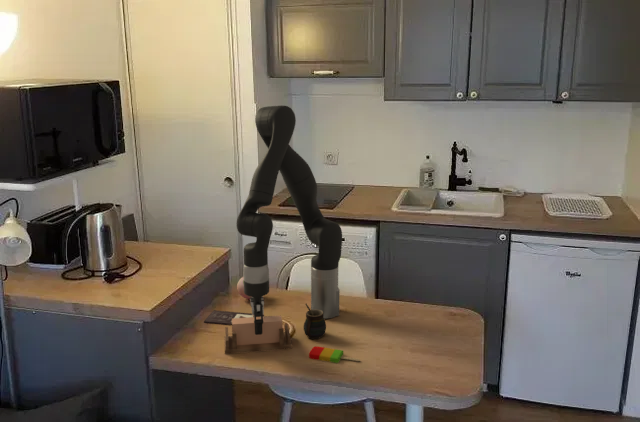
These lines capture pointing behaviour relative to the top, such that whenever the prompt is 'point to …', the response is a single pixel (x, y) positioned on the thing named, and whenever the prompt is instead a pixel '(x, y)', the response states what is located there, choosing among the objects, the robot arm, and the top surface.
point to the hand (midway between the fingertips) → (257, 327)
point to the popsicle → (328, 354)
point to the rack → (234, 348)
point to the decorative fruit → (242, 288)
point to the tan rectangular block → (247, 330)
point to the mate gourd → (314, 324)
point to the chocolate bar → (225, 317)
